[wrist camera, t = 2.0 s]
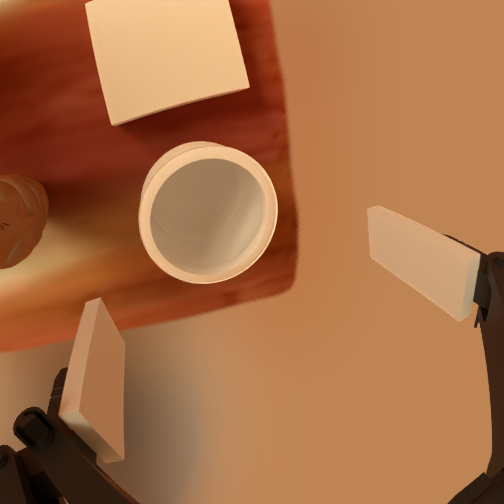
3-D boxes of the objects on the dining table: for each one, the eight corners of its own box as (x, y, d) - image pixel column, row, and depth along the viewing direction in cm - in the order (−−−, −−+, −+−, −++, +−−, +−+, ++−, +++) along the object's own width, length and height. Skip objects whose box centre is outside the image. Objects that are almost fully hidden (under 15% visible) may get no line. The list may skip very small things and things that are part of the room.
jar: (168, 123, 33) (176, 120, 20) (248, 160, 37) (302, 183, 24) (130, 208, 36) (117, 259, 22) (209, 239, 40) (240, 301, 26)
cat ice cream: (81, 192, 33) (26, 248, 17) (46, 242, 34) (-13, 324, 18) (29, 146, 29) (-57, 169, 13) (-3, 198, 30) (-87, 254, 14)
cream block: (117, 125, 32) (111, 125, 27) (93, 17, 26) (85, 3, 21) (237, 92, 34) (249, 87, 29) (212, -12, 28) (220, -29, 23)
